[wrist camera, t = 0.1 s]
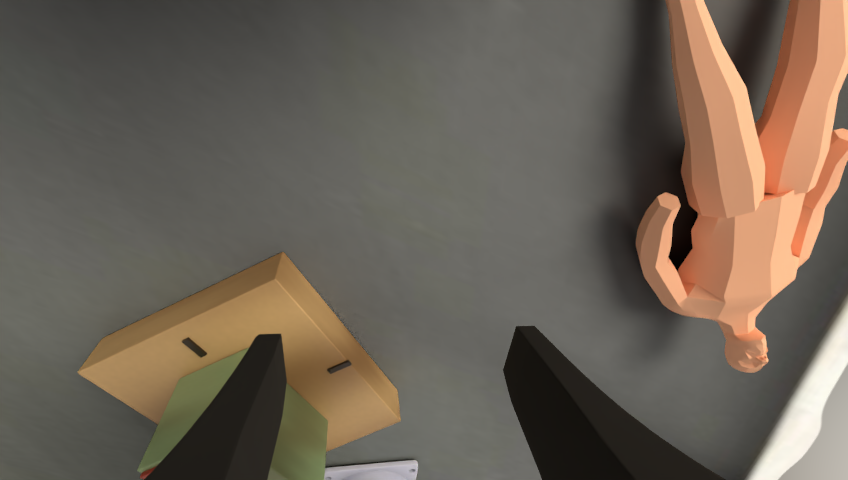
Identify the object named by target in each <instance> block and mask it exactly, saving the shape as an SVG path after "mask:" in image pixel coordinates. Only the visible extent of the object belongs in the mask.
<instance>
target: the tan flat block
mask: <svg viewBox="0 0 848 480" xmlns="http://www.w3.org/2000/svg"><path fill="white" fill-rule="evenodd" d="M259 334H281V336H282V344H283V353H284V361H285V369H286V378H287V383H288V384H289V385H290V386H291V387H292V388H293V389H294V390H295V391H296V392H298V393H299V394H300V395H301V396H302V397H303V398H304V399H305V400H306V401H307V402H308V403H309V404H310V405H312V406H313V407H314V408H315V409H316V410H317V411H318V412H319V413H320V414H321V415H322V416H323V417H325V418H326V419H327V420H328V432H327V447H326V452H327V451H329V450H332V449H334V448H336V447H339V446H341V445H344V444H346V443H349V442H351V441H353V440H356V439H358V438H361V437H363V436H366V435H368V434H371V433H373V432H375V431H378V430H380V429H383V428H385V427H388V426H390V425H392V424H395V423H397V422H400V421H401V419H400V410H399V400H398V391H397V389H396V388H395V387H394V386H393V384H392V383H391V382H390V381H389V380H388V378H387V377H386V376H385V375H384V373H383V372H382V371H381V370H380V369H379V367H378V366H377V365H376V364H375V362H374V361H373V360H372V359H371V358H370V356H369V355H368V354H367V353H366V352H365V350H364V349H363V348H362V347H361V345H360V344H359V343H358V342H357V341H356V339H355V338H354V337H353V336H352V334H351V333H350V332H349V331H348V330H347V328H346V327H345V326H344V325H343V324H342V322H341V321H340V320H339V319H338V317H337V316H336V315H335V314H334V313H333V311H332V310H331V309H330V308H329V307H328V305H327V304H326V303H325V302H324V300H323V299H322V298H321V297H320V296H319V294H318V293H317V292H316V291H315V289H314V288H313V287H312V286H311V285H310V283H309V282H308V281H307V280H306V279H305V277H304V276H303V275H302V274H301V272H300V271H299V270H298V269H297V268H296V266H295V265H294V264H293V263H292V262H291V260H290V259H289V258H288V257H287V255H286V254H285V253H284V252H281V253H279V254H277V255H275V256H273V257H271V258H269V259H267V260H265V261H262V262H260V263H258V264H256V265H254V266H252V267H250V268H248V269H246V270H244V271H242V272H240V273H237V274H235V275H233V276H231V277H229V278H227V279H225V280H223V281H221V282H219V283H217V284H214V285H212V286H210V287H208V288H206V289H204V290H202V291H200V292H198V293H196V294H194V295H191V296H189V297H187V298H185V299H183V300H181V301H179V302H177V303H175V304H173V305H171V306H168V307H166V308H164V309H162V310H160V311H158V312H156V313H154V314H152V315H150V316H148V317H145V318H143V319H141V320H139V321H137V322H135V323H133V324H131V325H129V326H127V327H125V328H123V329H120V330H118V331H116V332H114V333H112V334H110V335H108V336H106V337H104V338H102V339H101V341H100V342H99V344H98V345H97V346H96V348H95V349H94V350H93V352H92V353H91V354H90V356H89V357H88V358H87V360H86V361H85V362H84V364H83V365H82V367H81V368H80V369H79V371H78V372H77V373H78V374H80V375H81V376H83V377H84V378H86V379H88V380H89V381H91V382H92V383H94V384H95V385H97V386H99V387H100V388H102V389H103V390H105V391H106V392H108V393H109V394H111V395H113V396H114V397H116V398H117V399H119V400H120V401H122V402H124V403H125V404H127V405H128V406H130V407H131V408H133V409H134V410H136V411H138V412H139V413H141V414H142V415H144V416H145V417H147V418H149V419H150V420H152V421H153V422H155V423H156V424H159V422H160V420H161V418H162V415H163V413H164V411H165V409H166V407H167V404H168V402H169V400H170V398H171V396H172V394H173V391H174V389H175V387H176V385H177V383H178V381H179V379H180V378H182V377H185V376H187V375H189V374H191V373H193V372H196V371H198V370H200V369H202V368H204V367H207V366H209V365H211V364H213V363H215V362H218V361H220V360H222V359H224V358H226V357H229V356H231V355H233V354H235V353H237V352H240V351H242V350H244V349H246V348H249V347H250V345H251V344H252V342H253V340H254V339H255V337H256V336H257V335H259Z"/></svg>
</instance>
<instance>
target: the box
mask: <svg viewBox="0 0 848 480" xmlns="http://www.w3.org/2000/svg"><path fill="white" fill-rule="evenodd" d="M248 349H249V348H246V349H244V350H242V351H240V352H237V353H235V354H233V355H231V356H229V357H226V358H224V359H222V360H220V361H218V362H215V363H213V364H211V365H209V366H207V367H204V368H202V369H200V370H198V371H196V372H193V373H191V374H189V375H187V376H185V377H182V378H180V379H179V381H178V383H177V385H176V387H175V389H174V391H173V394H172V396H171V398H170V400H169V402H168V404H167V407H166V409H165V411H164V413H163V415H162V418H161V420H160V422H159V424H158V426H157V428H156V431H155V433H154V435H153V437H152V439H151V441H150V444H149V446H148V448H147V450H146V452H145V454H144V457H143V459H142V461H141V463H140V465H139V467H138V470H137V471H138V472H140V473H142V474H141V476H140V478H142V479H145V478H146V477H147V476H148V475H149V474H150V473H151V472H152V471H153V470H154V469H155V468H156V467H157V465H158V464H159V463H160V462H161V461H162V460H163V459H164V458H165V457H166V456H167V455H168V453H169V452H170V451H171V450H172V449H173V448H174V447H175V446H176V445H177V443H178V442H179V441H180V440H181V439H182V438H183V436H184V435H185V434H186V433H187V432H188V431H189V429H190V428H191V427H192V426H193V424H194V423H195V422H196V421H197V419H198V418H199V417H200V416H201V414H202V413H203V412H204V411H205V409H206V408H207V407H208V406H209V404H210V403H211V402H212V401H213V399H214V398H215V397H216V395H217V394H218V392H219V391H220V390H221V388H222V387H223V386H224V384H225V383H226V381H227V380H228V379H229V377H230V376H231V374H232V373H233V372H234V370H235V369H236V367H237V366H238V364H239V363H240V361H241V360H242V358H243V357H244V355H245V353H246V352H247V350H248ZM327 432H328V420H327V419H326V418H325V417H323V416H322V415H321V414H320V413H319V412H318V411H317V410H316V409H315V408H314V407H313V406H312V405H310V404H309V403H308V402H307V401H306V400H305V399H304V398H303V397H302V396H301V395H300V394H299V393H298V392H296V391H295V390H294V389H293V388H292V387H291V386H290V385H289V384H288V383H287V384H286V392H285V401H284V408H283V416H282V420H281V424H280V429H279V433H278V437H277V441H276V446H275V450H274V454H273V458H272V462H271V466H270V471H269V475H268V479H267V480H324V476H325V461H326V447H327Z"/></svg>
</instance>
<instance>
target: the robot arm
mask: <svg viewBox="0 0 848 480" xmlns="http://www.w3.org/2000/svg"><path fill="white" fill-rule="evenodd" d="M503 371H504V375H505V379H506V383H507V387H508V391H509V395H510V398H511V402H512V404H513V407H514V409H515V412H516V415H517V417H518V420H519V422H520V425H521V427H522V430H523V432H524V435H525V437H526V440H527V442H528V445H529V447H530V450H531V452H532V455H533V457H534V460H535V462H536V465H537V467H538V470H539V472H540V475H541V478H542V480H725V479H724V478H722V477H720V476H719V475H717V474H715V473H714V472H712V471H710V470H709V469H707V468H706V467H704V466H702V465H701V464H699V463H698V462H696V461H694V460H693V459H691V458H690V457H688V456H687V455H685V454H684V453H682V452H681V451H679V450H678V449H676V448H675V447H674V446H672V445H671V444H669V443H668V442H666V441H665V440H663V439H662V438H660V437H659V436H658V435H656V434H655V433H653V432H652V431H651V430H649V429H648V428H647V427H646V426H644V425H643V424H642V423H640V422H639V421H638V420H636V419H635V418H634V417H632V416H631V415H630V414H629V413H627V412H626V411H625V410H624V409H622V408H621V407H620V406H619V405H618V404H616V403H615V402H614V401H613V400H612V399H611V398H609V397H608V396H607V395H606V394H605V393H604V392H602V391H601V390H600V389H599V388H598V387H597V386H596V385H595V384H594V383H592V382H591V381H590V380H589V379H588V378H587V377H586V376H585V375H584V374H583V373H582V372H581V371H580V370H578V369H577V368H576V367H575V366H574V365H573V364H572V363H571V362H570V361H569V360H568V359H567V358H566V357H565V356H564V355H563V354H562V353H561V352H560V351H559V350H558V349H557V348H556V347H555V346H554V345H553V344H552V343H551V342H550V341H549V340H548V339H547V338H546V337H545V336H544V335H543V334H542V333H541V332H540V331H539V330H538V329H537V328H536V327H535V326H516V329H515V332H514V336H513V339H512V342H511V346H510V349H509V352H508V356H507V359H506V362H505V366H504V369H503ZM286 384H287V378H286V369H285V361H284V353H283V344H282V336H281V334H259V335H257V336H256V337H255V339H254V340H253V342H252V344H251V345H250V347H249V349H248V350H247V352H246V353H245V355H244V357H243V358H242V360H241V361H240V363H239V364H238V366H237V367H236V369H235V370H234V372H233V373H232V374H231V376H230V377H229V379H228V380H227V381H226V383H225V384H224V386H223V387H222V388H221V390H220V391H219V392H218V394H217V395H216V397H215V398H214V399H213V401H212V402H211V403H210V404H209V406H208V407H207V408H206V409H205V411H204V412H203V413H202V414H201V416H200V417H199V418H198V419H197V421H196V422H195V423H194V424H193V426H192V427H191V428H190V429H189V431H188V432H187V433H186V434H185V435H184V436H183V438H182V439H181V440H180V441H179V442H178V443H177V445H176V446H175V447H174V448H173V449H172V450H171V451H170V452H169V453H168V455H167V456H166V457H165V458H164V459H163V460H162V461H161V462H160V463H159V464H158V465H157V467H156V468H155V469H154V470H153V471H152V472H151V473H150V474H149V475H148V476H147V477H146V478H145V479H144V480H267V479H268V475H269V471H270V466H271V462H272V458H273V454H274V450H275V446H276V441H277V437H278V433H279V429H280V424H281V420H282V416H283V408H284V401H285V392H286ZM417 470H418V462H417V461H416V460H406V461H395V462H384V463H373V464H362V465H350V466H339V467H328V468H325V476H324V480H416V476H417Z"/></svg>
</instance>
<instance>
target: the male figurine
mask: <svg viewBox="0 0 848 480" xmlns="http://www.w3.org/2000/svg"><path fill="white" fill-rule="evenodd" d="M665 1H666V5H667V9H668V14H669V25H670V40H671V55H672V67H673V74H674V81H675V88H676V95H677V102H678V109H679V114H680V119H681V123H682V128H683V133H684V138H685V148H684V155H683V161H682V167H681V175H682V179H683V183H684V187H685V191H686V195H687V199H688V203H689V206H691V207H692V208H693V209H694V210H695V211H697V212H698V218H697V220H696V222H695V224H694V226H693V228H692V230H691V236H692V247H693V248H692V250H691V251H690V253H689V254H688V256H687V257H686V259H685V260H684V262H683V263H682V265H681V266H680V267H679V269H678V272H677V270H676V268H675V267H674V265H673V263H672V262H671V260H670V259H669V257H668V256H669V253H670V249H671V244H672V228H673V222H674V220H675V218H676V215H677V213H678V211H679V209H680V207H681V205H680V202H679V199H678V197H677V196H674V195H672V194H669V193H667V192H665V193H663V194H661V195H659V196H657V197H656V199H655V200H654V201H653V203H652V204H651V205H650V206H649V208H648V209H647V210H646V212H645V214H644V216H643V218H642V221H641V223H640V225H639V227H638V230H637V237H636V244H635V245H636V249H637V253H638V257H639V260H640V264H641V268H642V272H643V275H644V278H645V279H646V281H647V282H648V283H649V285H650V286H651V288H652V289H653V290H654V292H655V293H656V295H657V296H658V298H659V300H660V301H661V303H662V304H663V305H664V306H666V307H667V308H668V309H669V310H671V311H673V312H675V313H678V314H680V315H683V316H690V317H697V318H708V319H711V320H714V321H717V322H718V324H719V325H720V327H721V329H722V331H723V333H724V336H725V338H726V344H725V356H726V359H727V361H728V364H729V365H730V366H732V367H733V368H735V369H737V370H739V371H742V372H747V373H754V372H757V371H759V370H760V369H761V368H762V367H763V366H764V365H765V364H766V363H767V362H768V358H767V354H766V353H767V352H768V349H767V347H766V344H767V342H766V338H765V335H764V334H762V333H761V332H760V331H759V330H758V329H757V328H756V327H755V317H756V316H757V315H758V314H759V312H760V311H761V310H762V309H763V307H764V306H765V305H766V304H767V302H768V301H769V300H771V299H772V298H773V297H774V296H775V295H776V294H778V293H779V292H780V291H781V290H782V289H784V288H785V287H786V286H787V285H788V284H790V283H791V282H792V281H793V280H794V279H795V278H796V272H797V268H798V267H800V266H801V265H802V264H803V263H804V262H805V261H806V260H807V259H809V257H810V254H811V251H812V249H813V246H814V243H815V241H816V238H817V236H818V233H819V230H820V228H821V225H822V222H823V216H824V211H825V206H826V205H827V203H828V202H829V200H830V199H831V197H832V196H833V194H834V193H835V191H836V190H837V188H838V186H839V183H840V180H841V177H842V174H843V171H844V168H845V165H846V162H847V161H848V130H846V129H843V128H842V129H838V130H834V131H833V132H832V129H833V123H834V117H835V111H836V105H837V99H838V94H839V91H840V89H841V87H842V84H843V82H844V80H845V77H846V75H847V73H848V0H790V3H789V8H788V13H787V18H786V23H785V28H784V33H783V38H782V43H781V48H780V53H779V58H778V63H777V67H776V70H775V74H774V77H773V80H772V83H771V87H770V90H769V93H768V96H767V100H766V103H765V106H764V109H763V113H762V116H761V117H760V119H759V120H758V121H757V122H756V123H755V124H754V119H753V115H752V110H751V106H750V101H749V97H748V92H747V88H746V86H745V84H744V82H743V80H742V79H741V77H740V75H739V73H738V71H737V70H736V68H735V66H734V64H733V62H732V61H731V59H730V57H729V55H728V54H727V52H726V50H725V48H724V46H723V45H722V42H721V40H720V38H719V35H718V33H717V31H716V28H715V26H714V24H713V21H712V19H711V17H710V14H709V12H708V10H707V7H706V5H705V3H704V0H665Z"/></svg>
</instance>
